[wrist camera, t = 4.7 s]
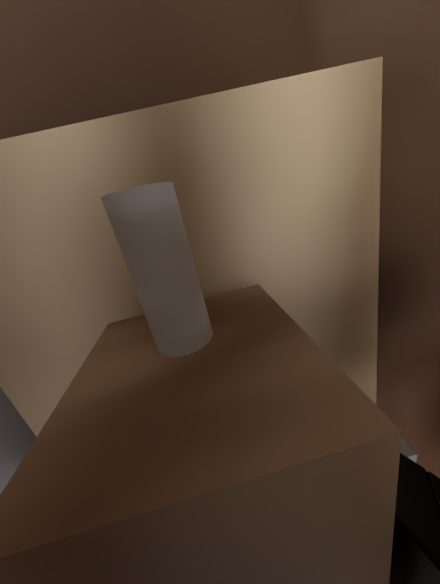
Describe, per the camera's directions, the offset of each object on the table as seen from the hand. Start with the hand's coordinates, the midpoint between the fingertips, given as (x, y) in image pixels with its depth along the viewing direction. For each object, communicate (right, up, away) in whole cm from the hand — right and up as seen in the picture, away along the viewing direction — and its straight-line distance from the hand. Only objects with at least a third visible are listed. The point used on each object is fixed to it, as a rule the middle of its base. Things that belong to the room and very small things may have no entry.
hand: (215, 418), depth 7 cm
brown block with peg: (0, +2, 0) cm, 2 cm away
